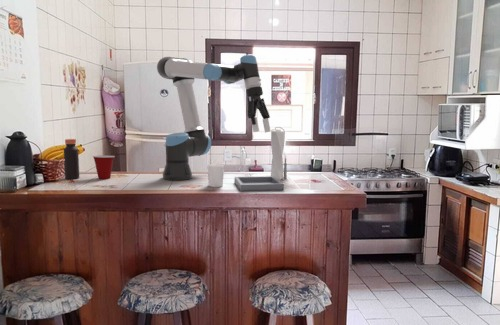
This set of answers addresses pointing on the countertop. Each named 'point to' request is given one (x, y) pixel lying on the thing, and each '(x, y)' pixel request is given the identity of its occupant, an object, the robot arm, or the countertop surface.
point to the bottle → (71, 159)
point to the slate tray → (259, 183)
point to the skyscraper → (278, 154)
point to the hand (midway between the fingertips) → (262, 131)
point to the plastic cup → (103, 166)
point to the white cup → (215, 175)
